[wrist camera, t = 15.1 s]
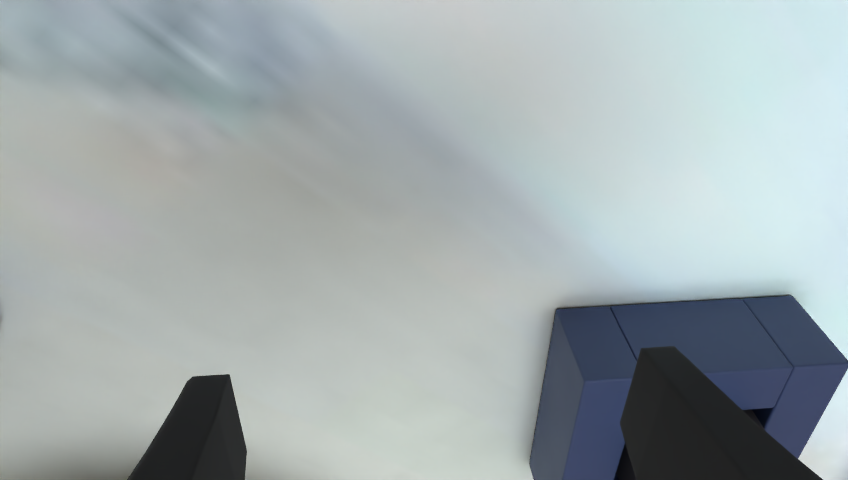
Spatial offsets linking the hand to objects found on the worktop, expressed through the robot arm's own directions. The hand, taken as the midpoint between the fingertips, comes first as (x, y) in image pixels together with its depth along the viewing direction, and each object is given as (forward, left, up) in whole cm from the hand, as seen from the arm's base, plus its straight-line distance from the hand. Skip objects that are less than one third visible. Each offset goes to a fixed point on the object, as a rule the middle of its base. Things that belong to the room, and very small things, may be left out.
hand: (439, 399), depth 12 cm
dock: (+10, -11, -9) cm, 18 cm away
